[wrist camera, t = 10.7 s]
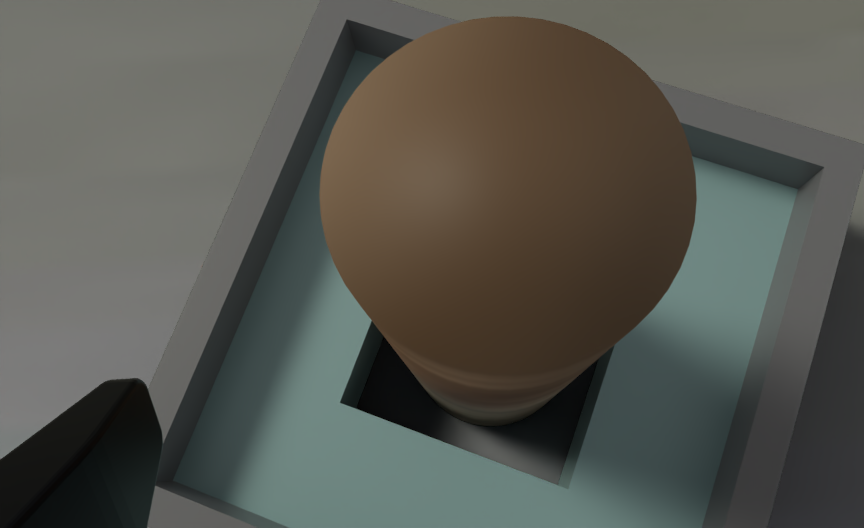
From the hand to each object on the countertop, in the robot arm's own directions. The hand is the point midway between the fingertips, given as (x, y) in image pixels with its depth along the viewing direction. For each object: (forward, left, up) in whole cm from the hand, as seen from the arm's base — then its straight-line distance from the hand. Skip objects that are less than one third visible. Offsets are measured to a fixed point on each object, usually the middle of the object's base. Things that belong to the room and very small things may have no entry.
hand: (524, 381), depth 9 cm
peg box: (+1, -2, -12) cm, 12 cm away
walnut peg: (+1, -2, -12) cm, 12 cm away
